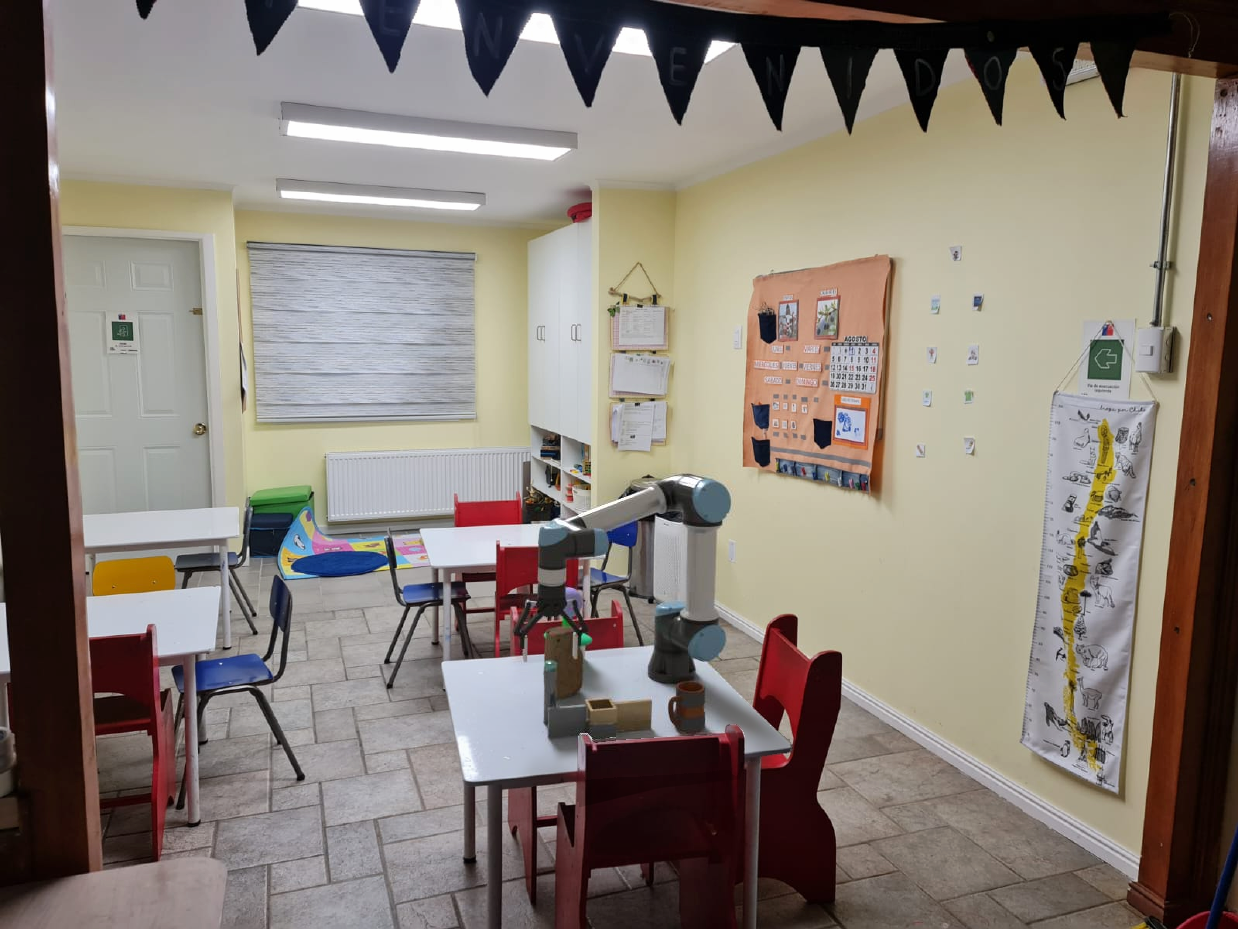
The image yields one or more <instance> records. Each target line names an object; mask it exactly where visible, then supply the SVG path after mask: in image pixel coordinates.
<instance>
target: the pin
mask: <svg viewBox="0 0 1238 929" xmlns="http://www.w3.org/2000/svg"><path fill="white" fill-rule="evenodd" d="M543 664H544V666H543V724H545V725H547V726H548V707H557V699H558V698H557V662H556V661H553V660H549V661H545V663H544V662H543Z"/></svg>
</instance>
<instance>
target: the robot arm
mask: <svg viewBox="0 0 1238 929" xmlns="http://www.w3.org/2000/svg"><path fill="white" fill-rule="evenodd" d="M731 505H732V498H731V494H730V491H729V490H728V488H727V487H726V486H725V485H724V484H723V483H721V482H719V481H717V480H715V479H713V478H708V477H705V476H704V477H703V476H699V475H696V474H692V473H681V474H675V475H672V476H668V477H666V478H663V479H659V480H657V481H654V482H652V483H650V484H649V485H648V486H647V488H646V489H643V490H640V491H638V492H635V493H633V494H630V495H628V496H625V497H622V498H619V499H617V500H614V501H611V502H609V503H606V504H604V505H601V506H598V507H596V508H594V509H590V510H588V511H585V512H583V513H580V514H578V515H574V516H572V517H569V518H565V517H556V518H554V519H552V520H551V521H550V522H549V523H544V524H543V525H541V526H540V527H539V530H538V531H539V532H538V538H537V539H538V540H537V544H538V550H537V553H538V564H537V566H538V567H537V568H538V569H537V581H538V583H537V592H536V593H537V598H536V600H530V599H529V598H528V599H526V600H525V601H524V608H523V609H522V612H521V614H520V615H519V617H518V619H517V621H516V624H515V625H514V627H513V628H512V634H513V637H518V638H519V639H518V641H519V642H518V646H519V649H520V650H522V659H523V662H524V663H528V637H527V635H528V634H529V633H530V631H531V630H533V628H534V626H536V624H537V623H538V622H539V621H540V620H541V619H542V618H543V617H546V618H550V617H552V618H558V617H559V615H561V616H562V619H563V618H564V619H565V620H566V621H567V622H568V624H569V625H570V626H571V627H572V628H573V629H574V630H575V632H574V633H573V657H574V659H577V646H581V636H582V634H583V633H584V634H586V633H588V632H589V627H588V626H587V623H586V621H585V619H584V618H583V616H582V614H581V610H580V611H579V609H578V605H577V600H576V599H575V598H572V599H570V600H566V587H567V584H566V581H567V561H568V560H575V559H584V558H585V559H586V558H596V557H601V556H604V555H605V554H606V553H607V552H608V550H609V537H608V533H607V532H609V531H612V530H614V529H617V528H621V527H623V526H624V525H627V524H631V523H633V522H635V521H638V520H640V519H643V518H645V517H648V516H651V515H653V514H657V513H658V514H660V515H662V514H663V515H664V514H665V513H668V512H681V513H682V525H683V526H684V527H685V528H686V529H687V537H686V544H687V545H686V568H685V569H686V572H685V574H686V575H685V578H686V580H685V601H666V602H661V603H658V604H657V606H655V609H654V610H655V611H654V615H653V616H654V632H653V634H654V636H653V637H654V639H653V643H654V644H653V651H652V653H651V657H650V660H649V661H648V665H647V675H648V677H649V678H650V679H652V680H653V681H656V682H660V683H663V684H679V683H681V682H686V681H693V680H694V679H696V676H697V668H696V667H697V666H696V665H695V664H696V663H695V661H694V660H697V661H699V662H704V663H705V662H710V661H712V660H714V659H716V658H717V657H718V656H719V654H720V653H722V652H723V651H724V648H725V646H726V642H727V635H726V632H725V630H724V628H722V626H720V613H719V612H718V611H717V610H716V609H715V601H716V600H715V599H716V597H715V596H716V595H715V593H716V571H717V570H716V569H717V568H716V567H717V566H716V565H717V544H718V543H717V541H718V540H717V539H718V530H719V529H720V528H721V527H722V526H723V521H724V520H725V519H726V517H727V515H728V514H729V513H730V511H731V508H732V507H731ZM567 604H568V605H569V606H570V607H571V608H573V610H574V612H575V614H576V615H575V616H576V618H577V620H578V622H579V624H580V626H581V627H579V626H578V625H577V624H576V622H574V620H573V619H571V618H570V617H569V616H568V615H567V614H566V612H565V611H564V609H565V607H566V606H567ZM534 607H536V608H537V610H536V611H535V613H534V614H533V615H532V617H531V618H530V619H529V620H528V621H527V623H526V620H527V618H528V617H529V615H530V612H531V610H533V609H534ZM561 616H560V617H561ZM525 623H526V624H525ZM524 624H525V625H524Z"/></svg>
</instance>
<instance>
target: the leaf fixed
mask: <svg viewBox="0 0 1238 929" xmlns="http://www.w3.org/2000/svg"><path fill="white" fill-rule="evenodd" d="M617 732H618V731H617V724H616V723H610V724H599V725H590V724H589V722H588V720H587V718H586V705H585V704H577V705H573V704H572V705H564V706H556V707H548V725H547V738H548V739H549V740H550V739H561V738H573V737H579V736H578V735H579V734H580V733H588V734H589V735H590V736H591V737H592V739H593V740H592V741H597V740H607V739H606V738H610V737H616V738H617ZM610 739H611V738H610Z"/></svg>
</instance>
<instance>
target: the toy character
mask: <svg viewBox="0 0 1238 929" xmlns="http://www.w3.org/2000/svg"><path fill="white" fill-rule="evenodd" d="M572 598H575V599H576V600H577V605H578V609H579V611H580V612H581V610H582V608H583V597H582V594H581V593H580V592H579V591H578V590H577V589H575V588H573V587H567V586H566V600H570V599H572ZM564 611H565V612H566V614H567V615H568V616H569V617H570V618H571V619H572V618H573V617H575V616H576V614H575V612H574V610H573V608H571V607H570V606H569V605H568V604H567V606H566V607H565V609H564ZM559 616H560V617H562V616H561V615H559ZM559 616H558V617H559ZM572 620H573V619H572ZM563 626H570V625H569V624H568V622H567V621H566V620H565V619H564V618H563V617H562V626H561V627H563ZM570 627H571V626H570ZM543 637H544V638H545V640H546V632H545V633H544V634H543ZM592 642H593V638H592V637H591V636H590V635H587V634H586V633H583V634H582V636H581V646H580V648H581V650H582V653H583V660H584V659H586V646H587V645H590V644H591V643H592Z"/></svg>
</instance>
